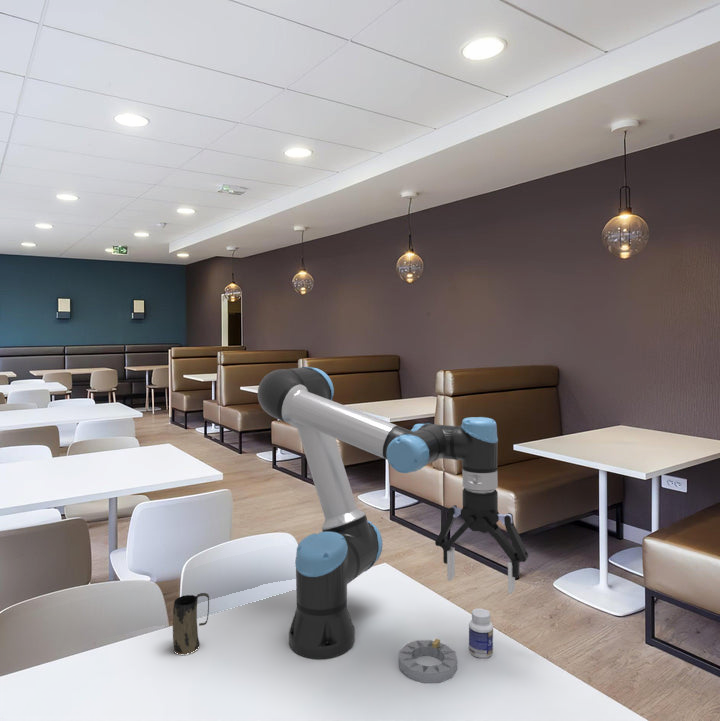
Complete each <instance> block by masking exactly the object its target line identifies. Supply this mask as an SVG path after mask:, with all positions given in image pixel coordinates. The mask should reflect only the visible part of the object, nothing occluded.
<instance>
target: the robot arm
mask: <svg viewBox="0 0 720 721" xmlns="http://www.w3.org/2000/svg"><path fill="white" fill-rule="evenodd" d="M334 393H335V389H334V385H333V381H332V379H331V378H330V376H329V375H328V374H327V373H326V372H324V371H323V370H321V369H320V368H316V367H311V366H302V367H294V368H285V369H284V368H282V369H276V370H273V371H271V372H269V373H267V374H266V375H265V376H264V377H263V378H262V379H261V381H260V383H259V385H258V387H257V399H258V403H259V405H260V407H261V408H262V410H263V411H264V412H265V413H267V414H268V415H269V416H271V417H272V418H275V419H276V420H279V421H281V422H284V423H285V424H289V425H290V426H291V427H294V428H295V429H297V432H298V435H299V439H300V442H301V445H302V449H303V451H304V454H305V458H306V461H307V463H308V464H307V465H308V468H309V471H310V474H311V477H312V480H313V484H314V487H315V490H316V493H317V497H318V500H319V504H320V507H321V509H322V513H323V516H324V522H323V524H322V526H321V531H320V532H318V533H315V532H314V533H311V534H309V535H307V536H306V537H304V538H302V540H301V541H300V542H299V543H298V544H297V547H296V554H295V555H296V556H295V562H294V564H295V573H296V574H295V576H296V577H295V580H296V582H295V583H296V586H295V587H296V588H295V589H296V591H295V592H296V609H295V612H294V614H293V617H292V620H291V623H290V624H291V625H290V627H289V632H288V644H289V647H290V648H291V650H292V651H294V653H296V654H298V655H300V656H303V657H306V658H309V659H310V658H311V659H329V658H334V657H338V656H340V655H342V654H344V653H346V652H348V651H349V650H350V649H351V648H352V647H353V646H354V644H355V642H356V640H355V639H356V637H355V636H356V631H355V626H354V623H353V621H352V617H351V613H350V611H349V608H348V584H350V583H351V582H352V581H354V580H355V579H356V578H357V577H359V576H361V575H362V574H363V573H365V572H367V571H369V570H370V569H371V568H372V567H373V566H374V564H376V563H377V561H379V559H380V557H381V554H382V552H383V538H382V534H381V532H380V530H379V528H378V527H377V526H376V525H375V524H373V522H372V521H370V520H368V518H367V515H366V512H364V511H363V510H361V509H359V508H358V507H357V506H358V505H357V503H356V500H355V497H354V494H353V491H352V487H351V484H350V480H349V476H348V475H347V472H346V471H347V470H346V469H345V465H344V462H343V459H342V456H341V453H340V449H339V445H338V443H337V440H339V441H341V442H344V443H346V444H348V445H351V446H352V447H353V446H354V447H356V448H358V449H360V450H363V451H365V452H367V453H370V454H373V455H374V456H378V457H379V458H382V459H385V460H387V463H388V464H389V465H390V467H391V468H393V470H395V471H396V472H398V473H401V474H410V473H414V472H417V471H419V470H422V469H423V468H424V467H426V466H429V465H430V464H431V463H434V462H435V461H439V460H440V459H443V460H444V459H445V460H456V461H461V463H462V464H461V465H462V467H461V468H462V470H461V471H462V474H461V475H462V487H463V489H462V508H459V507H458V506H457V505H456V504H454V505H452V506H451V507H449V508H448V513H447V518H446V520H445V522H444V524H443V526H442V527H441V530H440V532H439V534H438V535H437V538H436V539H435V542H434V544H435V546H436V547H441V549H442V550H443V552H442V553H443V555H442V556H443V561H442V562H443V564H445V565H446V564H447V566H446V568H447V569H446V570H447V574H446V577H447V578H446V579H447V581H451V580H453V579H454V578H455V576H456V574H455V573H456V571H455V569H456V566H455V565H456V563H455V562H456V561H455V559H456V558H455V556H456V555H455V547H452V546H453V545H454V544H455V542H457V540H458V539H459V538H460V537H461V536H462V535H463V534H464V533H465V532H466V531H467V530H468V529H470V530H471V532H480V533H483V534H487V533H489V535H490V536H491V537H493V539H494V540H495V541H496V542H497V543H498V545H499V546H500V547H501V549H502V550H503V552H504V553H505V554H506V556H507V557H508V558H509V561H508V562H507V593H508V594H511V595H512V594H513V593H514V591H515V589H516V579H517V578H518V577H519V576H520V562H522V563H525V562H526V561H527V559H528V558H529V557H530V556H529V552H528V551H527V548H526V546H525V544H524V542H523V541H522V537H521V536H520V533H519V532H518V530H517V528H516V526H515V524H514V522H515V521H514V515H513V513H511V512H508V513H507V514H500V513H499V511H498V510H499V509H498V508H499V507H498V506H499V505H498V503H499V501H498V499H499V496H498V490H497V488H498V486H499V485H498V484H499V483H498V479H499V478H498V442H499V439H498V429H497V428H498V426H497V422H496V420H495V419H493V418H491V417H490V418H489V417H485V416H478V417H475V416H474V417H473V416H471V417H465V418H463V419H462V422H461V425H446V424H434V423H431V422H430V423H429V422H427V423H416V424H414V425H413V426H412V429H407V428H405V427H402V426H399V425H397V424H394V423H392V422H390V421H386V420H384V419H381V418H378V417H376V416H373V415H370V414H368V413H365V412H363V411H359V410H357V409H355V408H352V407H349V406H346V405H344V404H341V403H339V402H336V401H334V400H333V397H334V395H335V394H334ZM459 516H461V517H462V519H463V521H464V523H462V525H461V526H460V527H459V528H458V529H457V530H456V531H455V533H453V535H451V537H449V539H448V540H446V538H447V536H448V534H449V532H450V531H451V528H452V526H453V524H454V523H455V520H456V518H458V517H459ZM499 521H500V522H501V523H502V525H503V526H504V527H505V530H506V533H507V534H508V537H509V539H510V540H511V542H510V540H508V538H507V537H506V536H505V534H504V533H503V532H502V530H501V528H500V526H499V524H498V522H499ZM512 544H513V545H512Z"/></svg>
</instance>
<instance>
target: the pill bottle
mask: <svg viewBox="0 0 720 721" xmlns="http://www.w3.org/2000/svg"><path fill="white" fill-rule="evenodd" d="M468 652H469V653H470V655H471V656H474V657H475V658H480V659H487V658H490V657H492V656H493V653H494V625H493V623H492V621H491V612H490V611H489V610H487V609H485V608H474V609H473V610H472V611H471V619H470V621H469V622H468Z"/></svg>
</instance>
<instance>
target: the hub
mask: <svg viewBox="0 0 720 721" xmlns="http://www.w3.org/2000/svg"><path fill="white" fill-rule="evenodd" d="M423 656H427V657H428V656H431V657H433V658H436V659H438V660H439V661H441V663H438V664H435V665H423V664H421V663H419V662H417V661H415V660H414V659H417V658H419V657H423ZM398 664H399V670H400V671H401V672H402V673H403V674H404V675H406V677H408V678H409V679H411V680H414V681H417V682H420V683H423V684H435V683H436V684H437V683H438V684H440V683H442V682H445V681H447V680H450V679H452V678H453V677H454V676H455V674H456V673H457V670H458V659H457V654H456V651H455V650H454V649H452V648H451V647H449V645H447V644H445V643H442V642H441V639H439V638H435V639H434V640H429V639H427V640H415V641H411V642H409V643H406V644H404V646H403V647H402V648H401V649H400V650H399V651H398Z"/></svg>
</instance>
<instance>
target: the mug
mask: <svg viewBox="0 0 720 721" xmlns="http://www.w3.org/2000/svg"><path fill="white" fill-rule="evenodd" d="M200 597H207V614H206V621H205V622H199V624H198V610H197V609H198V598H200ZM209 610H210V595H209V594H208V593H206V592H200V593H198V594H197V595H193V594H186V595H182V596H181V595H180V596H179V597H177V598H176V599H175V600H174V602H173V610H172V611H173V612H172V643H173V652H174V651H175V652H176V653H178V654H187V653H191V652H193V651H195V650H196V649H198V647H199V646H200V641H199V632H198V626H205V625H207V623H208V619H209V613H210V611H209ZM199 648H200V647H199ZM198 650H199V649H198ZM175 652H174V653H175ZM176 653H175V654H176Z"/></svg>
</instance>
